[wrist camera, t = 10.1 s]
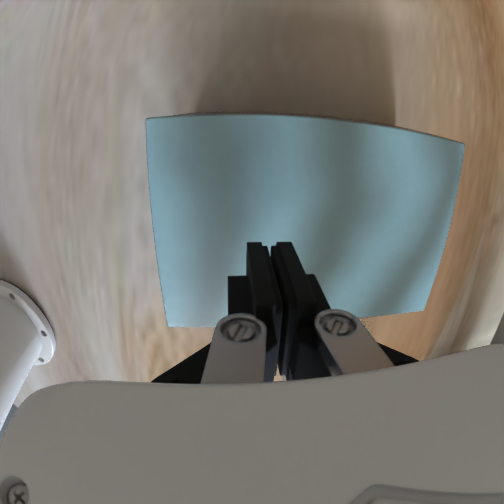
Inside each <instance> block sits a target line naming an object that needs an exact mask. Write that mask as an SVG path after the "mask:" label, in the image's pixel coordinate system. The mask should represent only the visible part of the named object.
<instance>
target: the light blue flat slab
mask: <svg viewBox="0 0 504 504" xmlns="http://www.w3.org/2000/svg"><path fill="white" fill-rule="evenodd" d="M146 146H147V164H148V179H149V192H150V203H151V213H152V223H153V232H154V241H155V249H156V256H157V264H158V271H159V278H160V284H161V291H162V297H163V303H164V309H165V314H166V320H167V325H168V327H216V325H217V323H218V321H219V320H221V319H222V318H223V317H225V316H227V315H228V276H242V275H246V251H247V242H262V246H267V247H268V250H269V254H270V252H271V246H276V242H292V244H293V246H294V248H295V251H296V253H297V255H298V257H299V260H300V262H301V264H302V266H303V268H304V271H305V273H306V274H314V275H315V276H316V278H317V280H318V282H319V284H320V286H321V289H322V291H323V293H324V295H325V297H326V299H327V301H328V303H329V305H330V307H331V309H340V310H344V311H348V312H350V313H352V314H353V315H355V316H356V317H357V318H365V317H374V316H383V315H391V314H399V313H407V312H415V311H422V310H424V308H425V305H426V302H427V300H428V297H429V294H430V291H431V288H432V285H433V282H434V279H435V276H436V273H437V270H438V267H439V264H440V260H441V257H442V254H443V250H444V247H445V243H446V239H447V235H448V232H449V228H450V224H451V219H452V215H453V211H454V206H455V202H456V197H457V192H458V186H459V181H460V175H461V169H462V163H463V156H464V148H465V144H464V143H461V142H458V141H454V140H450V139H446V138H442V137H438V136H434V135H429V134H424V133H420V132H415V131H410V130H405V129H399V128H394V127H388V126H382V125H375V124H369V123H362V122H354V121H346V120H338V119H328V118H317V117H305V116H291V115H270V114H198V115H177V116H163V117H151V118H146Z"/></svg>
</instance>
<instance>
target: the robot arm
mask: <svg viewBox="0 0 504 504" xmlns="http://www.w3.org/2000/svg"><path fill="white" fill-rule="evenodd" d="M55 349H56V342H55V337H54V334H53V331H52V329H51V326H50V324H49V323H48V321H47V319H46V317H45V316H44V314H43V313H42V312H41V310H40V309H39V308H38V307H37V305H36V304H35V303H34V302H33V301H32V300H31V299H30V298H29V297H28V296H27V295H26V294H25V293H23V292H22V291H21V290H20V289H18V288H17V287H15V286H13V285H12V284H10V283H8V282H5V281H2V280H0V430H1V428H2V426H3V423H4V421H5V419H6V417H7V415H8V413H9V410H10V408H11V406H12V404H13V402H14V400H15V398H16V396H17V394H18V392H19V390H20V388H21V386H22V385H23V383H24V381H25V379H26V377H27V375H28V373H29V372H30V370H31V368H32V366H33V365H43V364H45V363H47V362H49V361H50V360H51V358H52V356H53V354H54V352H55ZM277 363H278V368H279V373H280V375H285V376H286V381H276V382H273V380H274V376H276V371H277ZM0 504H504V344H494V345H487V346H482V347H478V348H474V349H469V350H465V351H461V352H457V353H453V354H449V355H445V356H441V357H437V358H433V359H428V360H424V361H418V360H416V359H415V358H412V357H410V356H408V355H405V354H403V353H401V352H398V351H396V350H394V349H391V348H389V347H387V346H384V345H382V344H380V343H377V342H376V341H375V339H374V338H373V337H372V336H371V334H370V333H369V332H368V330H367V329H366V328H365V327H364V325H363V324H362V323H361V321H360V320H359V319H358V318H357V317H356V316H355V315H353V314H352V313H350V312H348V311H344V310H340V309H331V307H330V305H329V303H328V301H327V299H326V297H325V295H324V293H323V291H322V289H321V286H320V284H319V282H318V280H317V278H316V276H315V275H314V274H306V273H305V271H304V268H303V266H302V264H301V262H300V260H299V257H298V255H297V253H296V251H295V248H294V246H293V244H292V242H276V246H271V252H270V254H269V250H268V247H267V246H262V242H247V251H246V275H242V276H228V315H227V316H225V317H223V318H222V319H221V320H219V321H218V323H217V325H216V327H215V330H214V334H213V338H212V342H211V343H210V344H208V345H207V346H205V347H204V348H202V349H201V350H199V351H198V352H196V353H194V354H193V355H191V356H190V357H188V358H187V359H185V360H184V361H182V362H180V363H179V364H177V365H176V366H174V367H173V368H171V369H169V370H168V371H166V372H165V373H163V374H161V375H160V376H158V377H157V378H155V379H154V380H153V381H152V382H151V383H150V382H125V381H96V380H88V381H75V382H67V383H62V384H56V385H52V386H48V387H45V388H42V389H40V390H37V391H36V392H34V393H32V394H31V395H30V396H29V397H27V398H26V399H25V400H24V402H23V403H22V404H21V405H20V407H19V408H18V409H17V411H16V412H15V414H14V416H13V417H12V419H11V421H10V423H9V424H8V426H7V428H6V431H5V432H4V435H3V437H2V439H1V441H0Z"/></svg>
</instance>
